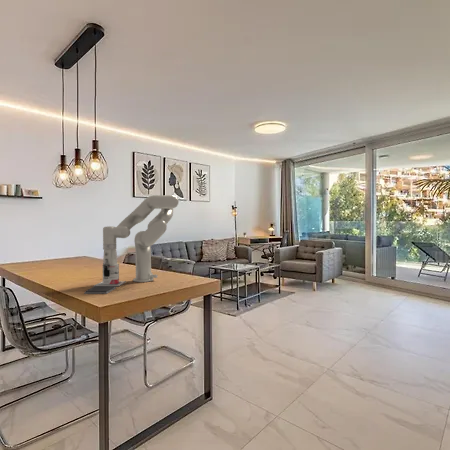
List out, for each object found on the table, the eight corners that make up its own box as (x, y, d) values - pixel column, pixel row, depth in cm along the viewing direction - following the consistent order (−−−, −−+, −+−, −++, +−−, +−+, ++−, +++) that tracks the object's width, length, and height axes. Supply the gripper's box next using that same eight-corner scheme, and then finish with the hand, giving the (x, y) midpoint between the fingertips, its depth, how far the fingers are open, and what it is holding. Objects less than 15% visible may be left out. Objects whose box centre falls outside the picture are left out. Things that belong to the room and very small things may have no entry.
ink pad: (115, 288, 170) (115, 285, 170) (106, 293, 158) (106, 290, 158) (94, 288, 170) (94, 285, 170) (84, 293, 158) (84, 290, 158)
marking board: (126, 281, 188) (126, 281, 188) (118, 286, 175) (118, 285, 175) (102, 281, 189) (102, 281, 189) (93, 286, 176) (93, 285, 176)
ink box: (119, 282, 185) (119, 263, 185) (116, 284, 180) (116, 264, 180) (105, 282, 185) (105, 263, 184) (102, 284, 180) (102, 264, 179)
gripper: (110, 248, 173) (110, 277, 173) (121, 245, 190) (121, 272, 190) (97, 248, 173) (97, 277, 173) (109, 245, 190) (109, 272, 191)
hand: (110, 275), depth 182 cm, fingers open, 9 cm apart
